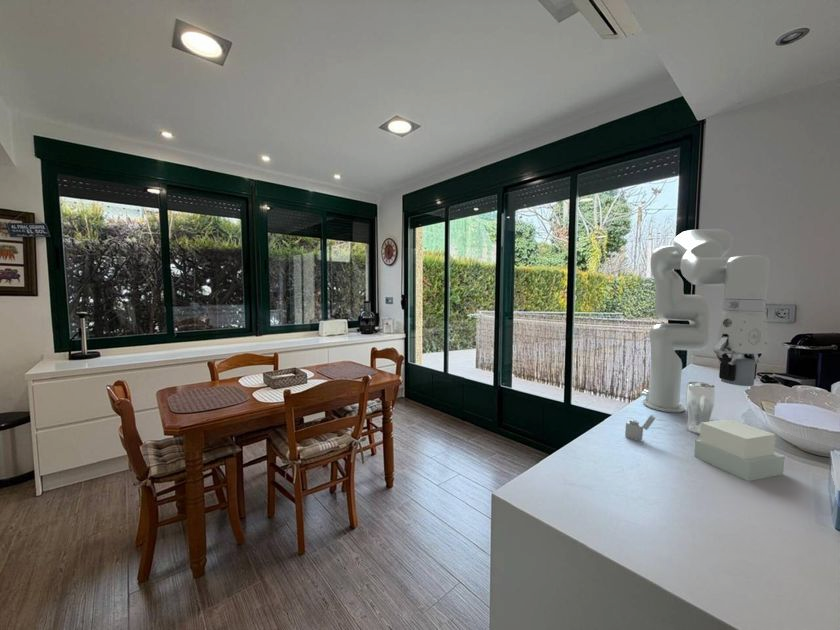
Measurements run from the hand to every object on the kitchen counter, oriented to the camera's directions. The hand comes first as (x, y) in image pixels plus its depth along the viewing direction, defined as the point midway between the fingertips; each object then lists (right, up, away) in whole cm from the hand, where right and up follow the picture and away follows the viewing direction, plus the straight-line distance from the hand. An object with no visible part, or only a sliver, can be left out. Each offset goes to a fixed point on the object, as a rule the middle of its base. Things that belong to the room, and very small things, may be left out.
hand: (737, 378), depth 85 cm
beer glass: (+8, -21, +22) cm, 31 cm away
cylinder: (0, -1, 0) cm, 1 cm away
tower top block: (+1, -18, +2) cm, 18 cm away
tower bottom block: (+1, -23, +2) cm, 23 cm away
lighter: (-14, -21, +16) cm, 30 cm away
